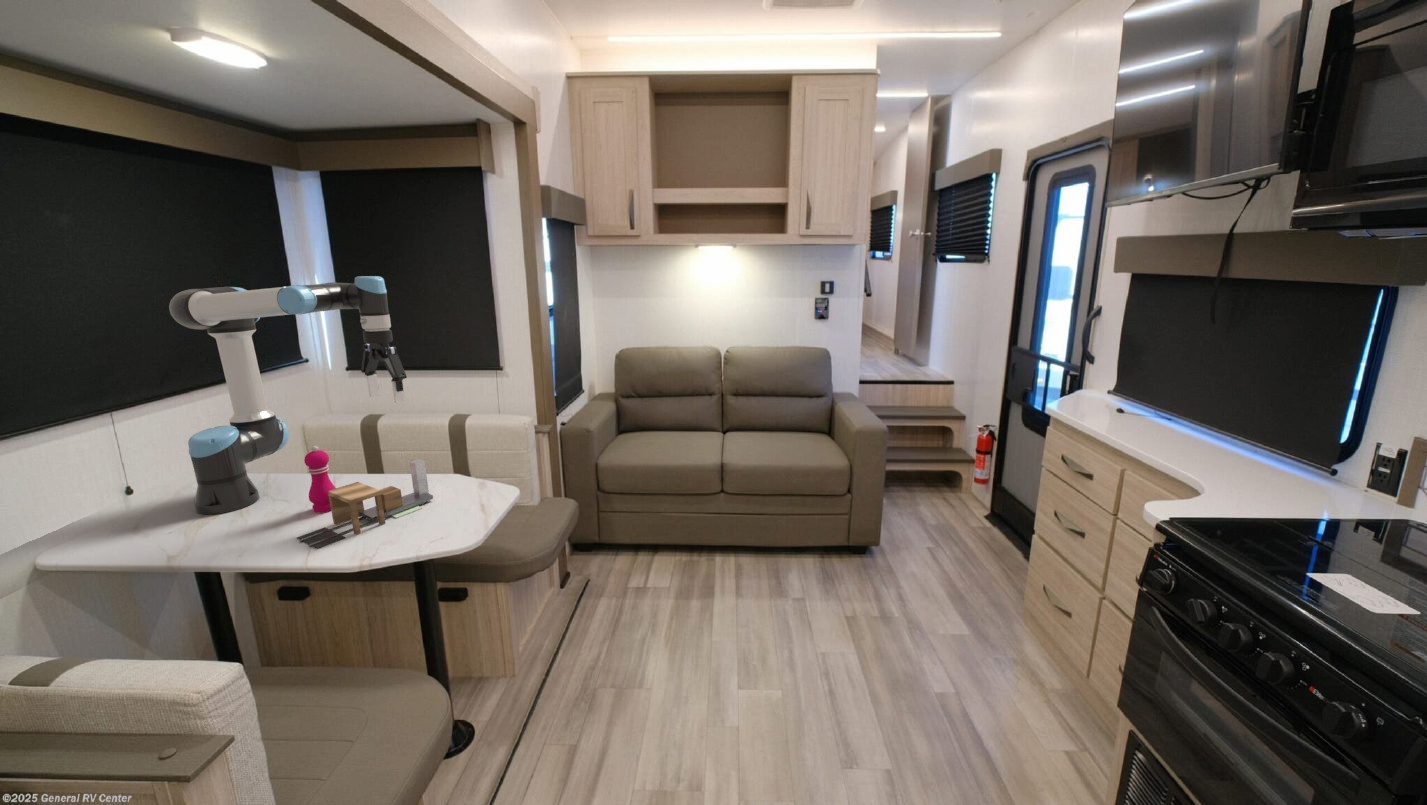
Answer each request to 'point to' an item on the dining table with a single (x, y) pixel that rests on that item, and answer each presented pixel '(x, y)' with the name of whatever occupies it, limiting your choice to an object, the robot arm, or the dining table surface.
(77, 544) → the dining table surface
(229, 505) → the robot arm
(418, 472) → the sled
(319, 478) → the pepper mill
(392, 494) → the block
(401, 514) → the pad
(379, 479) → the dining table surface
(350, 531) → the rails
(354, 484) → the tunnel
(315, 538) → the flat slatted panel
